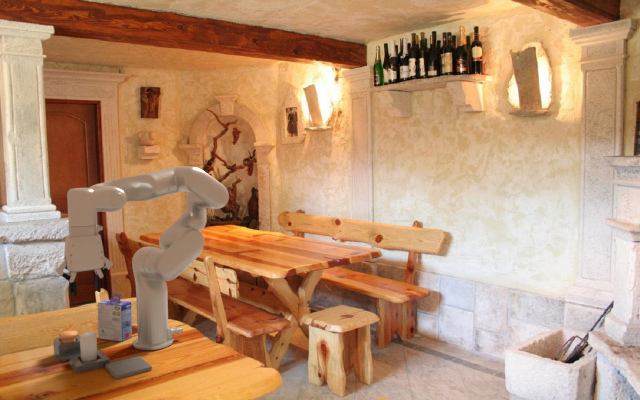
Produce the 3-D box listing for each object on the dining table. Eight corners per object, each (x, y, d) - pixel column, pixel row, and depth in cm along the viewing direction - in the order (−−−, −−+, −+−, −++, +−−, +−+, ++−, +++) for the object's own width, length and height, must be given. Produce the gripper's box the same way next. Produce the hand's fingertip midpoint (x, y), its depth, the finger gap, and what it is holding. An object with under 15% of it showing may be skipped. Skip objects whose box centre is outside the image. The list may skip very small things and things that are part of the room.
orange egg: (75, 346, 167) (75, 329, 167) (80, 351, 163) (79, 333, 163) (57, 350, 164) (56, 332, 164) (61, 355, 160) (60, 337, 159)
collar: (100, 356, 163) (100, 349, 163) (109, 365, 156) (109, 359, 156) (69, 363, 158) (68, 356, 158) (77, 373, 151) (76, 366, 150)
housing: (78, 349, 169) (77, 334, 168) (84, 356, 163) (83, 340, 163) (54, 354, 164) (53, 338, 164) (59, 361, 159) (58, 345, 158)
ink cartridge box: (133, 336, 180) (131, 294, 179) (122, 342, 175) (121, 298, 173) (109, 333, 183) (107, 292, 182) (97, 339, 178) (95, 296, 177)
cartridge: (95, 360, 160) (93, 331, 159) (99, 365, 157) (98, 335, 156) (79, 364, 157) (78, 334, 156) (83, 369, 154) (82, 338, 153)
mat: (139, 359, 161) (139, 355, 161) (151, 370, 153) (151, 366, 153) (105, 367, 155) (105, 364, 155) (115, 379, 147) (115, 375, 147)
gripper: (110, 227, 161) (112, 285, 163) (47, 232, 151) (50, 295, 153) (118, 230, 155) (120, 290, 157) (53, 236, 145) (56, 301, 147)
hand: (86, 292), depth 155 cm, fingers open, 6 cm apart
